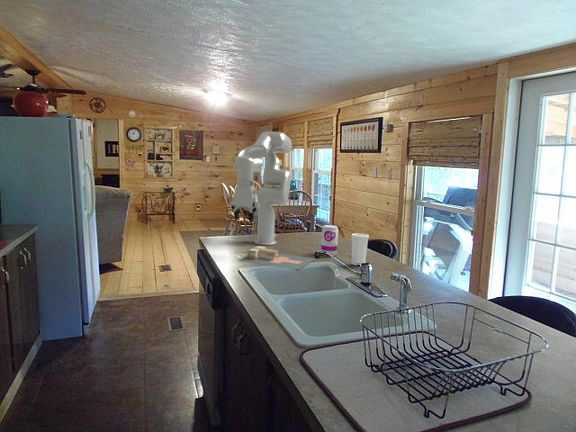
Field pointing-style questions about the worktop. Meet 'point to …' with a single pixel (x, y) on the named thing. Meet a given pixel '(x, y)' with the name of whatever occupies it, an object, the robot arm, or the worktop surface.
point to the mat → (283, 261)
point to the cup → (359, 248)
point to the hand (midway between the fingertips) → (244, 219)
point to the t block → (262, 253)
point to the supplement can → (329, 239)
